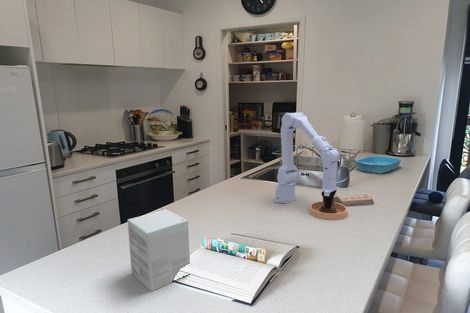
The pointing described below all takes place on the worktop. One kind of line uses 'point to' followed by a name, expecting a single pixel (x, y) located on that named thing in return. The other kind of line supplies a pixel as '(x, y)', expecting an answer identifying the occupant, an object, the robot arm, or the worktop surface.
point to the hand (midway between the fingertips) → (328, 207)
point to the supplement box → (158, 247)
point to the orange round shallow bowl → (340, 214)
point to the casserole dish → (378, 164)
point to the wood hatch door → (331, 205)
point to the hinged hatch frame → (327, 210)
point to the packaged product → (354, 200)
